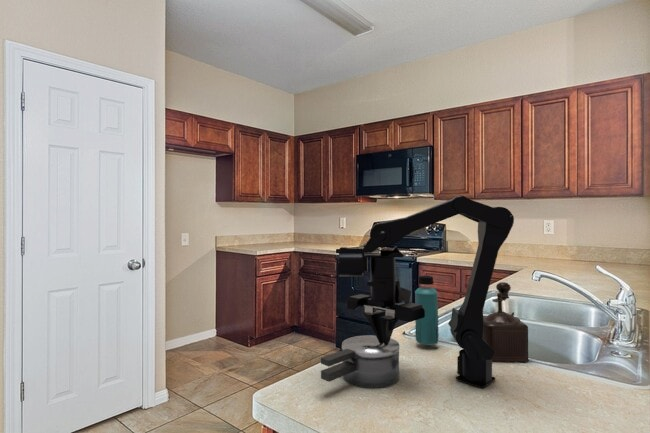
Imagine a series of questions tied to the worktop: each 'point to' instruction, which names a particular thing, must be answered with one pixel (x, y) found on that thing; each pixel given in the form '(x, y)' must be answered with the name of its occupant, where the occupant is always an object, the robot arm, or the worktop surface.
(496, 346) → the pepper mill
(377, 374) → the pot
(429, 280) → the beverage bottle
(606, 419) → the worktop surface
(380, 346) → the lid
